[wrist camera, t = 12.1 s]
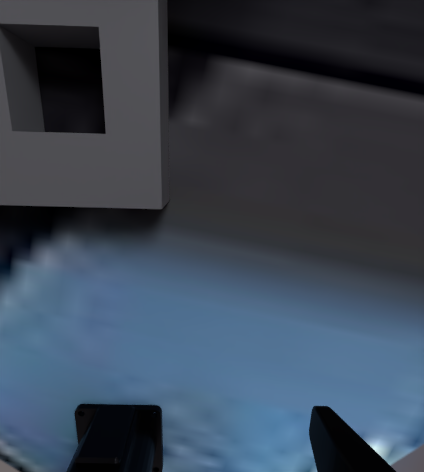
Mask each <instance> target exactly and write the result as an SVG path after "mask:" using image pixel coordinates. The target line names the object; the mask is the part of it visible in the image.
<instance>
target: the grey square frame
mask: <svg viewBox="0 0 424 472" xmlns="http://www.w3.org/2000/svg"><path fill="white" fill-rule="evenodd" d="M35 47H61V48H92V49H100V53H101V68H102V83H103V98H104V114H105V129H106V134H89V133H55V132H45V129H44V121H43V112H42V104H41V95H40V87H39V78H38V70H37V62H36V53H35ZM169 201H170V197H169V111H168V25H167V0H0V205H19V206H57V207H95V208H134V209H163V207H164V206H165V205H166V204H167V203H168V202H169Z"/></svg>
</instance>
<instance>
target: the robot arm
mask: <svg viewBox="0 0 424 472" xmlns="http://www.w3.org/2000/svg"><path fill="white" fill-rule="evenodd" d="M82 411H83V412H82ZM154 412H155V413H154ZM75 420H76V428H77V437H78V447H77V450H76V452H75V454H74V456H73V458H72V461H71V463H70V465H69V467H68V469H67V472H162V469H163V438H162V409H161V408H160V407H159V406H156V405H105V404H80V405H79V406H78V407H77V409H76V411H75ZM309 436H310V441H311V446H312V450H313V454H314V459H315V463H316V467H317V472H396V471H395V470H394V469H393V468H392V467H391V466H390V465H389V464H388V463H387V462H386V461H385V460H384V459H383V458H382V457H381V456H380V455H379V454H377V453H376V452H375V451H374V450H373V449H372V448H371V447H370V446H369V445H368V444H367V443H366V442H365V441H364V440H363V439H362V438H361V437H360V436H359V435H358V434H357V433H356V432H355V431H354V430H353V429H352V428H351V427H350V426H349V425H348V424H347V423H346V422H344V421H343V420H342V419H341V418H340V417H339V416H338V415H337V414H336V413H335V412H334V411H333V410H332V409H331V408H330V407H328V406H314V407H313V409H312V414H311V420H310V427H309Z"/></svg>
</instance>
